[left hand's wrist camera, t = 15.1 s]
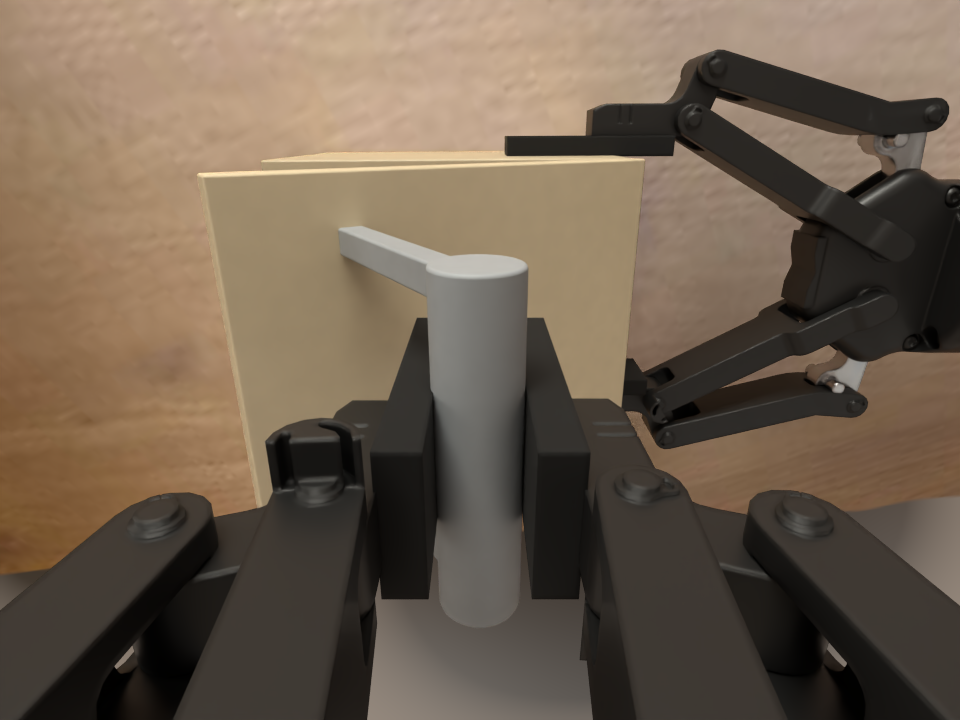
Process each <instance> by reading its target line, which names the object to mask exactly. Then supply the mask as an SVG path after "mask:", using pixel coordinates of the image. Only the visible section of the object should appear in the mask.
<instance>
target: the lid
mask: <svg viewBox="0 0 960 720" xmlns="http://www.w3.org/2000/svg"><path fill="white" fill-rule="evenodd" d="M644 167H645V160H644V159H632V158H620V159H591V160H562V161H533V162H504V163H475V164H446V165H417V166H388V167H359V168H330V169H301V170H272V171H243V172H214V173H199V174H197V179H198V185H199V190H200V196H201V201H202V207H203V212H204V218H205V223H206V229H207V234H208V240H209V245H210V251H211V256H212V262H213V267H214V273H215V278H216V284H217V289H218V295H219V300H220V306H221V311H222V317H223V322H224V328H225V333H226V339H227V344H228V350H229V355H230V361H231V366H232V372H233V377H234V383H235V388H236V394H237V399H238V405H239V410H240V416H241V421H242V427H243V432H244V438H245V443H246V449H247V454H248V460H249V465H250V471H251V476H252V482H253V487H254V493H255V498H256V504H257V508H259V507H263V506H265V505H267V504H268V501H269V499H270V497H271V494H272V492H273V489H272V483H271V477H270V470H269V464H268V458H267V451H266V445H265V441H266V440H267V439H268V438H269V436H270V435H271V434H272V433H273V432H275V431H277V430H279V429H280V428H282V427H284V426H286V425H289V424H292V423H295V422H299V421H302V420H307V419H315V418H333V417H334V415H335V413H336V412H337V411H338V410H339V409H341V408H342V407H344V406H345V405H347V404H348V403H349V402H351V401H352V400H388V399H389V396H390V393H391V390H392V387H393V384H394V382H395V379H396V376H397V373H398V370H399V367H400V364H401V362H402V359H403V356H404V353H405V350H406V347H407V344H408V342H409V339H410V336H411V333H412V330H413V327H414V325H415V322H416V319H417V318H428V340H429V363H430V387H431V391H432V392H433V406H434V434H435V462H436V490H437V527H436V536H435V545H434V554H433V555H434V556H435V558H436V559H437V560H438V578H439V600H440V604H441V606H442V608H443V610H444V611H445V613H446V614H447V615H448V616H449V617H450V618H451V619H452V620H454V621H455V622H457V623H459V624H461V625H464V626H467V627H473V628H487V627H492V626H495V625H498V624H500V623H502V622H504V621H505V620H507V619H508V618H509V617H510V616H511V615H512V614H513V613H514V612H515V610H516V608H517V606H518V604H519V600H520V575H521V536H522V499H523V461H524V423H525V384H526V346H527V318H544V320H545V323H546V326H547V329H548V332H549V335H550V337H551V340H552V343H553V346H554V349H555V352H556V355H557V357H558V360H559V363H560V366H561V369H562V372H563V374H564V377H565V380H566V383H567V386H568V389H569V392H570V394H571V397H572V398H608V399H610V400H611V401H612V402H614V403H615V404H617V405H618V406H620V407H621V406H622V396H623V385H624V375H625V365H626V354H627V344H628V333H629V323H630V313H631V302H632V292H633V282H634V271H635V261H636V250H637V240H638V230H639V219H640V209H641V198H642V188H643V178H644Z"/></svg>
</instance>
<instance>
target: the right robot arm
mask: <svg viewBox="0 0 960 720" xmlns="http://www.w3.org/2000/svg"><path fill="white" fill-rule="evenodd" d="M716 98H719V99H722V100H725V101H729V102H732V103H735V104H738V105H742V106H745V107H748V108H752V109H755V110H758V111H762V112H765V113H768V114H771V115H775V116H778V117H781V118H785V119H788V120H791V121H795V122H798V123H801V124H804V125H808V126H811V127H814V128H818V129H821V130H824V131H828V132H832V133H836V134H843V135H859V137H858V139H857V143H858V145H859V146H861V149H862V150H863V152H865V153H866V154H870V155H874V156H876V157H878V158H879V159H880V161H881V164H882V170H880V171H878V172H876V173H874V174H873V175H871V176H870V177H868V178H867V179H865V180H864V181H862V182H860V183H859V184H857V185H856V186H854V187H853V188H851V189H850V190H848V191H847V192H845V193H844V192H842V191H840V190H838V189H836V188H833V187H830V186H828V185H826V184H824V183H823V182H821V181H820V180H818V179H817V178H815V177H814V176H812V175H810V174H809V173H807V172H806V171H804V170H803V169H801V168H800V167H798V166H797V165H795V164H793V163H792V162H790V161H789V160H787V159H786V158H784V157H783V156H781V155H780V154H778V153H776V152H775V151H773V150H772V149H770V148H769V147H767V146H766V145H764V144H762V143H761V142H759V141H758V140H756V139H755V138H753V137H752V136H750V135H749V134H747V133H745V132H744V131H742V130H741V129H739V128H738V127H736V126H735V125H733V124H732V123H730V122H728V121H727V120H725V119H724V118H722V117H721V116H719V115H718V114H716V113H714V112H713V111H711V110H710V109H711V107H712V105H713V103H714V101H715V99H716ZM948 115H949V106H948V104H947V102H946V101H945V100H944V99H942V98H927V99H915V100H903V101H892V102H889V101H886V100H883V99H880V98H876V97H873V96H870V95H867V94H864V93H860V92H857V91H854V90H851V89H848V88H844V87H841V86H838V85H835V84H832V83H828V82H825V81H822V80H819V79H816V78H812V77H809V76H806V75H803V74H799V73H796V72H793V71H790V70H787V69H783V68H780V67H777V66H774V65H771V64H767V63H764V62H761V61H758V60H755V59H751V58H748V57H745V56H742V55H739V54H735V53H732V52H729V51H726V50H715V51H713V52H709V53H706V54H704V55H701V56H698V57H696V58H694V59H691V60H689V61H688V62H687V63H686V64H685V65H684V66H683V68H682V70H681V80H680V82H679V85H678V87H677V89H676V91H675V93H674V95H673V96H672V97H671V99H670V100H668V101H667V102H666V103H663V104H604V105H600V106H597V107H595V108H593V109H590V110H588V111H587V122H586V136H505V155H506V156H673V152H674V143H675V141H676V142H678V143H680V144H681V145H683V146H684V147H686V148H688V149H689V150H691V151H692V152H694V153H695V154H697V155H699V156H700V157H702V158H703V159H705V160H707V161H708V162H710V163H711V164H713V165H715V166H716V167H718V168H719V169H721V170H723V171H724V172H726V173H727V174H729V175H731V176H732V177H734V178H735V179H737V180H739V181H740V182H742V183H743V184H745V185H747V186H748V187H750V188H751V189H753V190H755V191H756V192H758V193H759V194H761V195H763V196H764V197H766V198H767V199H769V200H771V201H772V202H774V203H775V204H777V205H778V206H779V208H780V209H782V210H783V211H785V212H786V213H788V214H790V215H791V216H793V217H794V218H796V219H798V220H799V221H801V222H802V223H803V225H802V227H801V228H800V230H794V233H793V238H792V243H791V257H792V265H791V267H790V269H789V272H788V274H787V276H786V278H785V280H784V284H783V289H782V294H781V297H783V298H785V299H783V300H781V301H779V302H777V303H775V304H773V305H771V306H769V307H766V308H764V309H763V310H761V311H760V312H759V315H758V317H756V318H755V319H753V320H751V321H748V322H746V323H744V324H742V325H740V326H738V327H736V328H734V329H732V330H730V331H728V332H726V333H724V334H722V335H720V336H717V337H715V338H713V339H711V340H709V341H707V342H705V343H703V344H701V345H699V346H697V347H695V348H693V349H691V350H689V351H686V352H684V353H682V354H680V355H678V356H676V357H674V358H672V359H670V360H668V361H666V362H664V363H662V364H660V365H658V366H655V367H653V368H651V369H649V370H647V371H645V372H643V373H642V371H641V370H640V368H639V367H638V365H637V364H636V362H635V361H634V359H626V365H625V375H624V385H623V396H622V406H621V408H622V409H624V410H625V411H636V412H640V413H642V419H643V421H644V423H645V425H646V426H647V428H648V430H649V432H650V433H651V435H652V437H653V439H654V441H655V442H656V444H657V445H658V446H659V447H660V448H663V449H671V448H675V447H679V446H684V445H688V444H692V443H697V442H701V441H706V440H710V439H714V438H719V437H723V436H727V435H732V434H736V433H740V432H745V431H749V430H753V429H758V428H762V427H766V426H771V425H775V424H779V423H784V422H788V421H792V420H797V419H801V418H805V417H810V416H814V415H821V416H834V417H848V418H853V417H857V416H860V415H861V414H862V413H864V412H865V410H866V409H867V406H868V401H867V399H866V398H865V397H864V396H863V395H861V394H860V393H859V392H858V388H859V385H860V383H861V380H862V377H863V374H864V372H865V369H866V366H867V363H868V362H870V361H874V360H877V359H879V358H881V357H883V356H886V355H888V354H891V353H895V352H901V351H905V352H924V353H960V180H938V179H936V178H934V177H932V176H931V175H929V174H928V173H927V172H925V171H923V170H920V168H921V163H922V157H923V152H924V147H925V141H926V136H927V132H930V131H934V130H937V129H938V128H939V127H941V126H942V125H943V124H944V122H945V121H946V120H947V117H948ZM800 322H801V323H800ZM827 345H830V346H831V347H833V348H834V349H835V350H837V352H836V354H835V356H834V357H833V358H832V359H831V360H830V361H828V362H826V363H821V364H817V365H815V364H810V365H808V366H807V367H806V369H805V372H794V373H785V374H780V375H775V376H771V377H767V378H763V379H758V380H754V381H750V382H746V383H742V384H738V385H733V386H729V387H725V388H722V387H724V386H726V385H728V384H730V383H732V382H735V381H737V380H739V379H741V378H743V377H745V376H747V375H750V374H752V373H754V372H756V371H758V370H760V369H762V368H765V367H767V366H769V365H771V364H773V363H775V362H778V361H780V360H782V359H784V358H786V357H789V356H793V355H796V356H801V355H806V354H809V353H811V352H814V351H816V350H818V349H820V348H822V347H824V346H827ZM720 388H721V389H720Z"/></svg>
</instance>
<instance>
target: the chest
mask: <svg viewBox="0 0 960 720" xmlns="http://www.w3.org/2000/svg"><path fill="white" fill-rule="evenodd" d="M620 158H627V157H620V156H506V155H505V151H452V152H331V153H322V154H313V155H305V156H296V157H287V158H278V159H270V160H262V161H261V166H262V171H272V170H301V169H330V168H359V167H388V166H417V165H446V164H475V163H504V162H533V161H562V160H591V159H620Z"/></svg>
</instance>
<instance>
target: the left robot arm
mask: <svg viewBox="0 0 960 720" xmlns="http://www.w3.org/2000/svg"><path fill="white" fill-rule="evenodd" d="M265 445H266V451H267V458H268V464H269V470H270V477H271V483H272V489H273V492H272V494H271V497H270V499H269V501H268V504H267V505H265V506H263V507H259V508H256V509H252V510H248V511H243V512H238V513H233V514H228V515H223V516H218V517H214V515H213V510H212V506H211V503H210V502H209V501H208V500H207V499H206V498H205V497H204V496H201V495H197V494H193V493H167V494H162V495H157V496H153V497H150V498H148V499H146V500H144V501H141V502H139V503H136V504H134V505H131V506H130V507H128V508H127V509H125V510H123V511H122V512H120V513H119V514H117V515H116V516H114V517H113V518H112V519H111V520H109V521H108V522H107V523H106V524H104V525H103V526H102V527H101V528H100V529H98V530H97V531H96V532H95V533H94V534H92V535H91V536H90V537H89V538H87V539H86V540H85V541H84V542H83V543H81V544H80V545H79V546H78V547H77V548H75V549H74V550H73V551H72V552H70V553H69V554H68V555H67V556H66V557H64V558H63V559H62V560H61V561H60V562H58V563H57V564H56V565H55V566H53V567H52V568H51V569H50V570H49V571H47V572H46V573H45V574H44V575H43V576H41V577H40V578H39V579H38V580H36V581H35V582H34V583H33V584H32V585H30V586H29V587H28V588H27V589H26V590H24V591H23V592H22V593H21V594H19V595H18V596H17V597H16V598H15V599H13V600H12V601H11V602H10V603H9V604H7V605H6V606H5V607H4V608H2V609H1V610H0V720H367V715H368V706H369V696H370V686H371V677H372V667H373V658H374V648H375V638H376V629H377V617H376V606H375V596H376V591H377V587H378V582H379V578H380V585H381V597H382V599H429V590H430V581H431V572H432V563H433V554H434V545H435V536H436V527H437V490H436V462H435V434H434V406H433V392H432V391H431V387H430V363H429V340H428V318H417V319H416V322H415V325H414V327H413V330H412V333H411V336H410V339H409V342H408V344H407V347H406V350H405V353H404V356H403V359H402V362H401V364H400V367H399V370H398V373H397V376H396V379H395V382H394V384H393V387H392V390H391V393H390V396H389V399H388V400H352V401H351V402H349V403H348V404H347V405H345V406H344V407H342V408H341V409H339V410H338V411H337V412H336V413H335V415H334V417H333V418H315V419H307V420H302V421H299V422H295V423H292V424H289V425H286V426H284V427H282V428H280V429H279V430H277V431H275V432H273V433H272V434H271V435H270V436H269V438H268V439H267V440H266V441H265ZM522 514H523V523H524V532H525V541H526V550H527V559H528V568H529V577H530V586H531V595H532V599H579V590H580V577H581V578H582V582H583V587H584V591H585V606H584V617H583V629H582V640H581V651H580V660H587V666H588V676H589V685H590V695H591V704H592V714H593V720H960V606H959V605H958V604H957V603H956V602H954V601H953V600H952V599H951V598H950V597H948V596H947V595H946V594H945V593H943V592H942V591H941V590H940V589H939V588H937V587H936V586H935V585H934V584H932V583H931V582H930V581H929V580H927V579H926V578H925V577H924V576H923V575H921V574H920V573H919V572H918V571H916V570H915V569H914V568H913V567H912V566H910V565H909V564H908V563H907V562H905V561H904V560H903V559H902V558H901V557H899V556H898V555H897V554H896V553H894V552H893V551H892V550H891V549H890V548H888V547H887V546H886V545H885V544H883V543H882V542H881V541H880V540H879V539H877V538H876V537H875V536H874V535H872V534H871V533H870V532H869V531H867V530H866V529H865V528H864V527H863V526H861V525H860V524H859V523H858V522H856V521H855V520H854V519H853V518H852V517H850V516H849V515H848V514H847V513H845V512H843V511H842V510H840V509H839V508H837V507H836V506H834V505H833V504H831V503H829V502H827V501H824V500H822V499H819V498H817V497H815V496H813V495H810V494H807V493H803V492H801V493H799V492H798V491H791V490H770V491H766V492H762V493H758V494H757V495H756V496H755V497H754V498H753V499H751V500H750V503H749V508H748V513H747V515H745V514H740V513H735V512H730V511H725V510H720V509H714V508H711V507H707V506H703V505H699V504H697V503H694V502H692V500H691V498H690V496H689V494H688V491H687V490H686V488H685V487H684V486H683V485H682V483H681V482H680V481H679V480H678V479H676V478H675V477H673V476H671V475H670V474H668V473H667V472H664V471H661V470H658V469H656V468H655V467H654V465H653V463H652V461H651V459H650V458H649V456H648V454H647V452H646V450H645V448H644V446H643V444H642V442H641V441H640V439H639V437H637V433H636V431H635V429H634V427H633V426H631V422H630V420H629V418H628V416H627V414H626V412H625V410H624V409H622V408H621V407H620V406H618V405H617V404H615V403H614V402H612V401H611V400H610V399H608V398H572V397H571V394H570V392H569V389H568V386H567V383H566V380H565V377H564V374H563V372H562V369H561V366H560V363H559V360H558V357H557V355H556V352H555V349H554V346H553V343H552V340H551V337H550V335H549V332H548V329H547V326H546V323H545V320H544V318H527V346H526V384H525V423H524V461H523V499H522ZM829 643H830V644H831V645H832V646H833V647H834V649H835V650H836V651H837V652H838V653H839V654H840V655H841V657H842V658H843V659H844V660H845V661H846V662H847V665H846V666H845V667H843V666H842V665H841V664H840V663H839V662H838V661H837V660H836V659H835V658H834V657H833V656H832V655H831V654H830V652H829V651H828V650H827V647H828V644H829ZM132 645H133V649H134V653H133V654H132V655H131V656H130V657H129V658H128V659H127V661H126V662H125V663H124V664H122V665H121V666H120V667H119V668H118V669H116V668H115V667H114V666H115V665H116V663H117V662H118V661H119V660H120V659H121V658H122V657H123V655H124V654H125V653H126V652H127V651H128V650H129V649H130V647H131V646H132Z"/></svg>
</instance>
